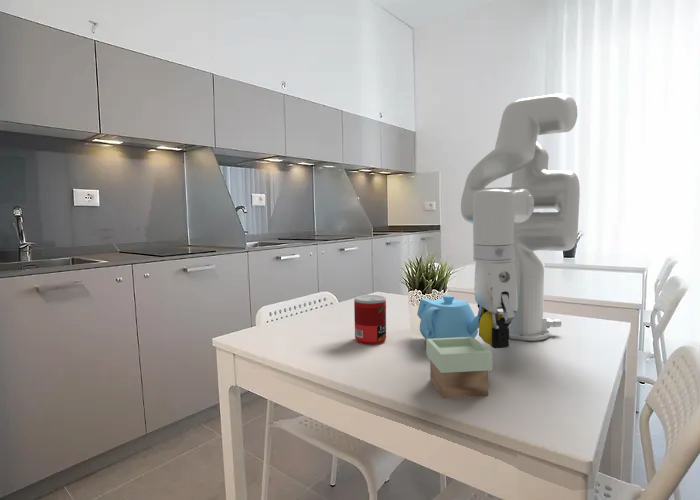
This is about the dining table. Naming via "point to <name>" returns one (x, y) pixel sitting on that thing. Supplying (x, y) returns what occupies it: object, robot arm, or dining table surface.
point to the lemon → (487, 327)
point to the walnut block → (459, 383)
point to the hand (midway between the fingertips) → (493, 340)
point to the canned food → (370, 319)
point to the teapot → (447, 318)
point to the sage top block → (458, 354)
